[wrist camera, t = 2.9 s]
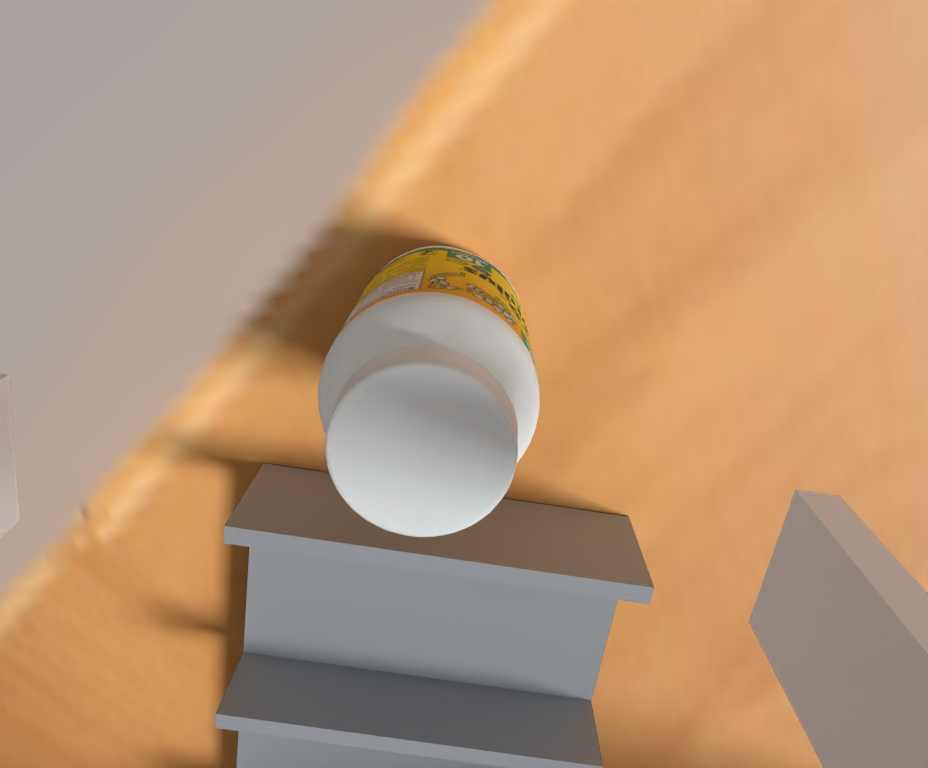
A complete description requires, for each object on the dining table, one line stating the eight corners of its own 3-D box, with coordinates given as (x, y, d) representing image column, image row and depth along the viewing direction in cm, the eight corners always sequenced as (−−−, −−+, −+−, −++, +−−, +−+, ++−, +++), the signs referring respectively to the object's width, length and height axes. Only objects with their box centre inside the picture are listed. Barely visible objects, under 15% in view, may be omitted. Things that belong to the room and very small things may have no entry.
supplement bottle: (328, 295, 24) (234, 407, 15) (472, 210, 23) (465, 275, 14) (416, 429, 26) (379, 603, 17) (555, 355, 25) (596, 497, 16)
